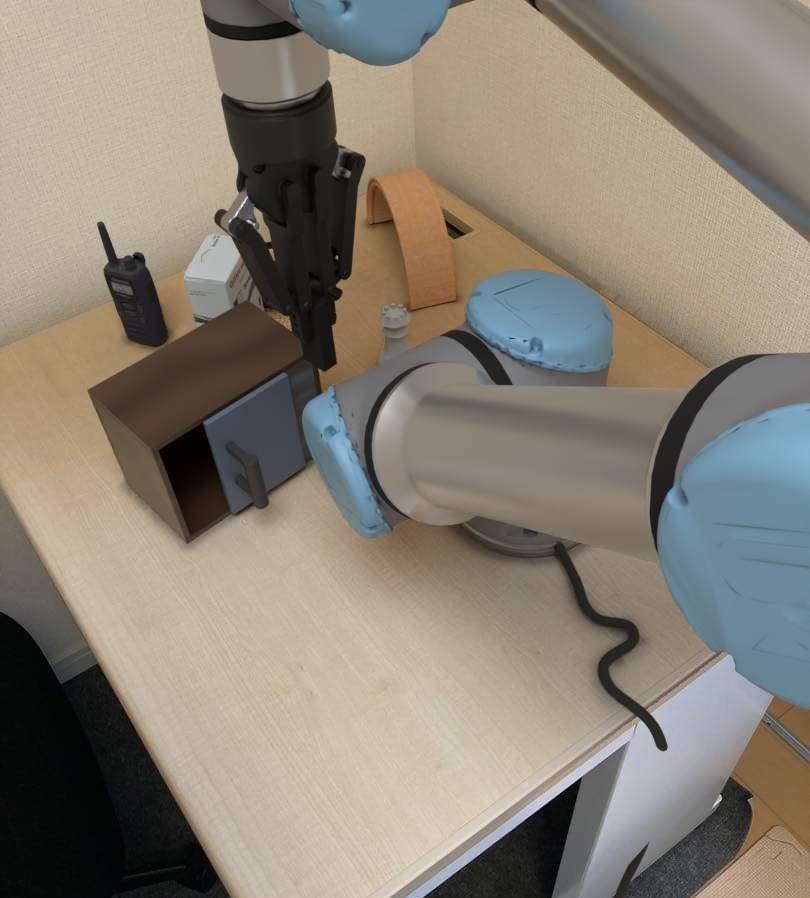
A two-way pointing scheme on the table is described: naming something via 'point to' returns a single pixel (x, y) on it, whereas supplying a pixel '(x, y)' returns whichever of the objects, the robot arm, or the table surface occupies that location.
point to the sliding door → (256, 444)
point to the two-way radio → (133, 294)
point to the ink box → (218, 279)
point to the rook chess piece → (394, 331)
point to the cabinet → (195, 410)
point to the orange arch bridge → (416, 233)
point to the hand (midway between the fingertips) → (320, 361)
